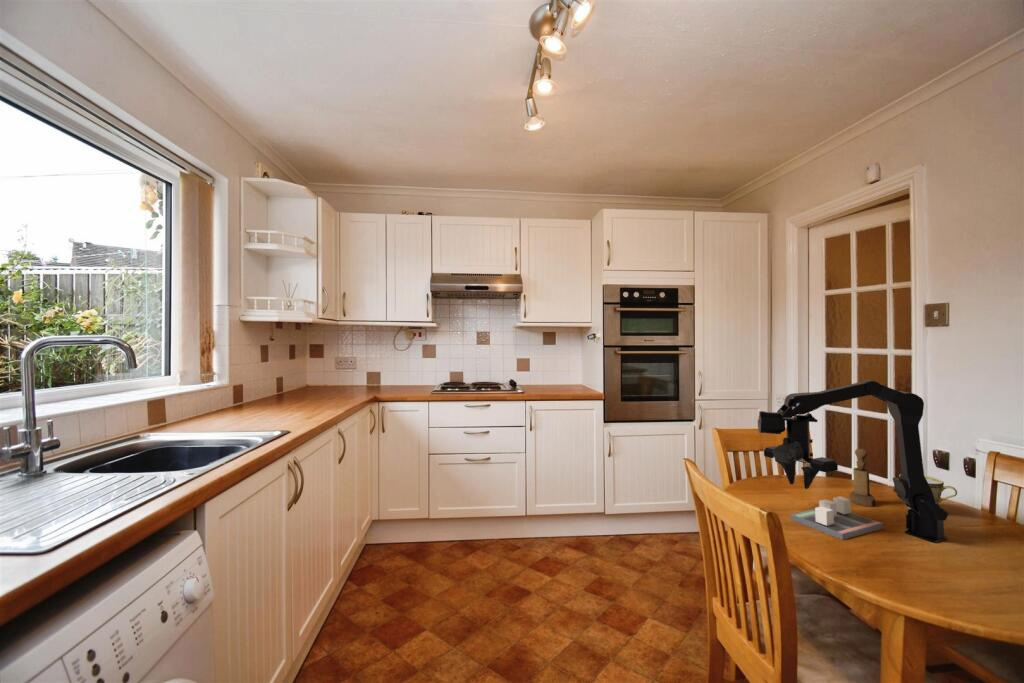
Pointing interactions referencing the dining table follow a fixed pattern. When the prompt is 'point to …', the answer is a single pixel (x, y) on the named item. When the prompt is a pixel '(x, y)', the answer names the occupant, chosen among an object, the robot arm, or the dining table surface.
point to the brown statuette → (861, 482)
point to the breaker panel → (839, 524)
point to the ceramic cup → (938, 488)
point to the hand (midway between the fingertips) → (799, 486)
